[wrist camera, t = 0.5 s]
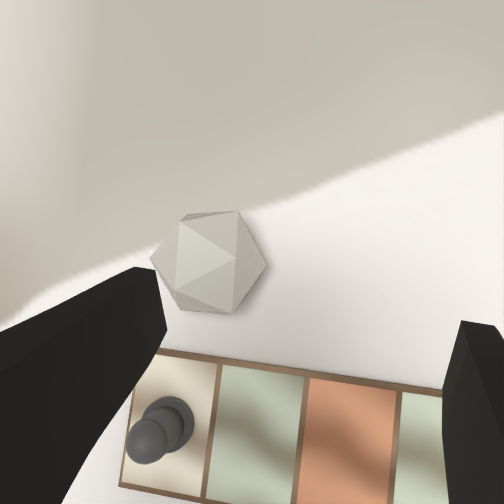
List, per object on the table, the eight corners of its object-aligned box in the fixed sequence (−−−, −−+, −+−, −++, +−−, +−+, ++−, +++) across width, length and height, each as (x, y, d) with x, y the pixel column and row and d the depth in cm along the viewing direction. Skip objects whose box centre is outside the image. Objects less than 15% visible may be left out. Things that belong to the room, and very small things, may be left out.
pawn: (190, 453, 36) (163, 487, 29) (141, 444, 37) (104, 475, 30) (197, 400, 36) (172, 421, 30) (149, 392, 37) (114, 411, 30)
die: (286, 256, 38) (245, 177, 32) (259, 341, 34) (204, 268, 27) (211, 257, 42) (161, 186, 36) (177, 333, 38) (112, 267, 31)
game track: (484, 556, 33) (488, 561, 32) (121, 483, 37) (117, 487, 36) (494, 398, 34) (498, 399, 33) (142, 345, 38) (139, 346, 38)
